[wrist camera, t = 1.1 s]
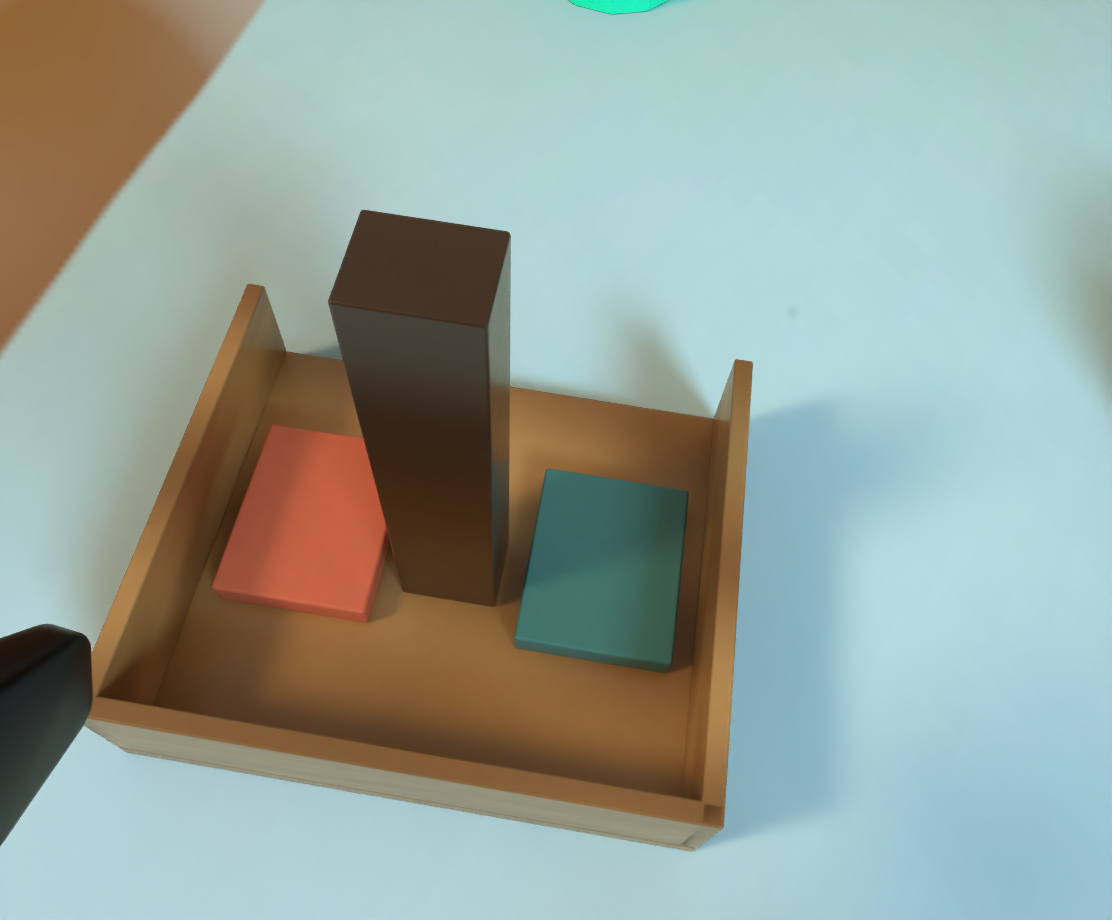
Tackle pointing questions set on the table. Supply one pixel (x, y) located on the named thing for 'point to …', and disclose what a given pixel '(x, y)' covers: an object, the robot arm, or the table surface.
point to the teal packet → (604, 571)
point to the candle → (618, 5)
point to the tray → (431, 570)
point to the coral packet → (307, 528)
